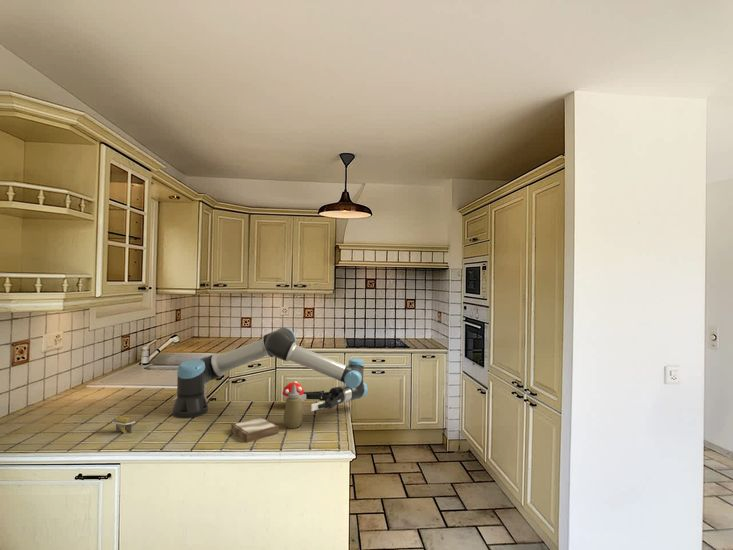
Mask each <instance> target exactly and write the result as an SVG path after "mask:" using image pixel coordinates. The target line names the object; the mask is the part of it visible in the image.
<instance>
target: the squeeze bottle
mask: <svg viewBox="0 0 733 550" xmlns="http://www.w3.org/2000/svg"><path fill="white" fill-rule="evenodd" d="M288 397H289V398H287V399H286V398H285V406H284V415H283V421H284V424H285V427H286V428H287V429H297V427H298V428H299V427H300V426H301V423H302V421H303V407H302V401H301V398H299V393H298V392H297V391H296V386H295V385H293V386H292V390H291V392H290V393H289V394H288Z"/></svg>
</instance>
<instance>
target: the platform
mask: <svg viewBox="0 0 733 550" xmlns="http://www.w3.org/2000/svg"><path fill="white" fill-rule="evenodd" d="M111 423H112V424H116V425H115V430H116V431H118V432H123V434H128V433H129V434H131V433H132V425H133V424H135V423H136V421H135V420H132V419H131V418H130V417H128V416H124V415H118V416H116V417H115V418H113V419H112V421H111Z"/></svg>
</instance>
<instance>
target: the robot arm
mask: <svg viewBox="0 0 733 550" xmlns="http://www.w3.org/2000/svg"><path fill="white" fill-rule="evenodd" d="M296 341H297V339H296V334H295V332H294V331H293V330H291V329H290V328H288V327H280V328H278V329H276V330H274V331H271V332H269V333H267V334H264V335H263V336H262V338H261V339H259V340H257V341H254V342H251V343H248V344H246V345H243V346H241V347H237V348H235V349H232V350H230V351H227V352H225V353H222V354H220V355H218V354H217V353H214V354H211V355H209V356H204V357H202V358H200V359H189V360H185V361H183V362H181V363H180V364H179V365H178V366H177V370H176V371H177V373H176V374H177V375H176V376H177V380H176V381H177V384H176V387H177V390H176V392H177V393H176V399H175V402H174V405H173V407H172V416H173V417H175V418H179V419H181V418H183V419H186V418H188V419H189V418H196V417H200V416H202V415H205V414H206V413H208V410H209V407H208V402H207V399H206V396H205V385H206V384H207V383H208V382H211V381H213V380H216V379H218V378H221V377H223V376H224V375H225V372H228V371H231V370H234V369H236V368H239V367H241V366H244V365H246V364H249V363H252V362H254V361H257V360H259V359H262V358H265V357H270V358H273V357H274V358H277V359H280V360H282V361H285V362H289V361H291V362H292V363H295V364H298V365H300V366H302V367H305V368H308V369H310V370H312V371H316V373H320V374H322V375H325V376H328V377H330V378H332V379H335V380H336V381H339V382H342V383H344V384H345V385H344V384H343V385H340V386H336V387H332V388H330V389H329V391H325V390H319V391H304V394H303V395H299V398H301V402H304V401H305V402H306V401H307V400H319V402H315V403H312V404H311V403H310V411H311V412H313V411H317V410H318V411H319V410H322V409H329V410H331V409H333V408H334V407H336V406H337V405H339V404H341V403H347V402H350V401H353V400H361V398H364V397H366V396H367V395H368V392H369V388H368V385H367V383H366V382H364V372H365V370H364V368H365V365H364V363H365V361H364V360H363V359H361V358H355V357H354V358H350V359H349V360H348V365H346V364H344V363H341V362H339V361H337V360H333V359H331V358H330V357H327V356H325V355H321V354H319V353H318V352H315V351H313V350H312V351H311V350H310V349H307V348H304V347H303V346H300V345H297V343H296Z"/></svg>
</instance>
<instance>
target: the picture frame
mask: <svg viewBox="0 0 733 550" xmlns="http://www.w3.org/2000/svg"><path fill="white" fill-rule="evenodd" d="M230 429H231V430H230V431H231V433H233V434H234V435H236V436H237V437H238V438H239V439H241V440H243V441H244V442H246V443H249V442H254V441H257V440H261V439H264V438H268V437H270V436H275V435H278V434H279V425H277V424H275V423H274V422H272V421H270V420H268V419H267V418H265V417H263V416H260V417H256V418H251V419H247V420H244V421H240V422H239V421H238V422H236V423H231V428H230ZM267 436H268V437H267Z"/></svg>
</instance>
